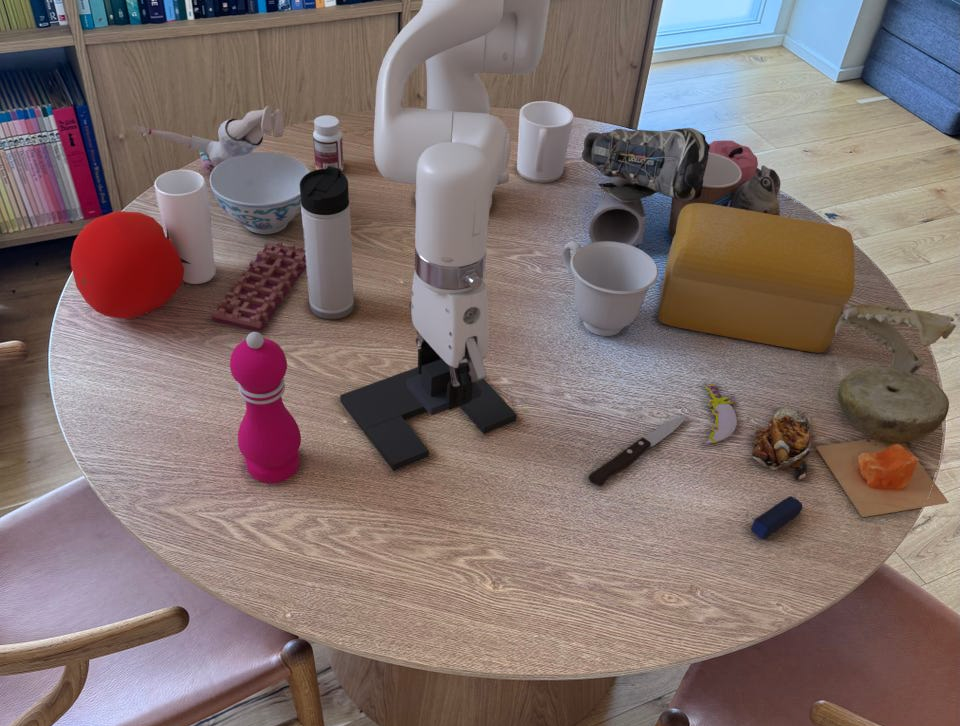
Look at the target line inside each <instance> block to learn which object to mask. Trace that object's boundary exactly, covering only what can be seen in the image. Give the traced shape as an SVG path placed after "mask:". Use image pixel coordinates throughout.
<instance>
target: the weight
mask: <svg viewBox="0 0 960 726" xmlns="http://www.w3.org/2000/svg"><path fill="white" fill-rule="evenodd" d="M837 401H838V404H839V408H840V409H841V412H842V414H843V416H844V418H845V419H846V420H847V422H848V423H849V424H850V425H851V426H852V427H853V428H855V429H856V430H858V431H860V432H861V433H864V434H865V435H868V436H869V437H871V438H872V439H873V438H875V439H878V440H882V441H887V442H895V443H905V444H906V443H911V442H915V441H918V440H920V439H923V438H926V437H927V436H928V435H929V436H930V434H932V433H934V432H935V431H936V430H937V429H938V428H939V427H940V426H941V425H942V424H943V422H944V421H945V419H946V418H947V416H948V413H949V408H950V401H949V397H948V396H947V394H946V393H945V392H944V390H943V389H942V388H941V387H940V386H939V385H938V383H936V382H935V381H933V380H932V379H930V378H927V377H923V376H920V375H917V374H915V373H914V374H912V373H910V372H907V371H904V370H901V369H897V368H893V367H891V366H887V365H880V366H870V367H861V368H859V369H857V370H854V371H852V372H850V373H848V374H847V375H846V376H845V377H843V379H842V380H841V381H840V383H839V384H838V388H837Z"/></svg>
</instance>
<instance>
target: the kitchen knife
mask: <svg viewBox="0 0 960 726" xmlns="http://www.w3.org/2000/svg"><path fill="white" fill-rule="evenodd" d="M685 419H686V414H685V415H681V416H678V417H676V418H673V419H671V420H668V421H666V422H664V423H662V424H661V425H659V426H658V427H657V428H655V430H653V431H652V432H650V433H648V434H647V435H646V436H645V437H641V438H639V439H638V440H637V441H635V442H633V444H631V445H630V446H628V447H627V448H626V449H624V450H622V452H620V453H618V454H617V455H616V456H614V457H613V458H612V459H610V460H609V461H607V462H606V463H604V464H603V465H601V466H600V467H599V468H597V469H596V470H594V471H593V472H591V473H590V474H589V475H588V480H589V481H590V482H591V483H592V484H594V485H596V486H598V487H601V486H603V485H604V484H605V483H606V481H607V480H608V479H609V478H611V477H612V476H614V475H616V474H618V473H620V472H621V471H623V470H625V469H627V468H628V467H629V466H631V465H632V464H633V463H635V462H636V460H638V459H639V458H640V457H641V456H642V455H643V454H644V453H645V452H646V451H647V450H648V449H649V448H650V447H651V448H653V447H654V446H656V445H657V444H658V443H660V442H661V441H663V439H665V438H667V436H669V435H670V434H672V433H673V432H674V431H675V430H676V429H677V428H679V427H680V425H681V424H682V423H683V422H684V420H685Z"/></svg>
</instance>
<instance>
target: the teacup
mask: <svg viewBox="0 0 960 726" xmlns="http://www.w3.org/2000/svg"><path fill="white" fill-rule="evenodd" d="M571 250H572V251H573V254H572V255H571ZM561 259H562V263H563V265H564V266H565V269H566V270H567V271H568V273H569V274H570V275H571V276H572V277H573V278H574V290H573V291H574V295H573V296H574V297H573V299H574V306H575V310H576V313H577V315H578V316H579V318H580V319H581V320H582V323H583V326H584V327H585V329H586V330H587V331H588V332H590V333H591V334H594V335H596V336H599V337H600V336H601V337H612V336H615V335H618V334H619V333H621V331H622V330H623V329H624V328H625V327H628V326H629V325H630V324H631V323H632V322H633V321H634V320H635V319H636V318H637V316H638V314H639V313H640V310H641V308H642V306H643V303H644V300H645V298H646V295H647V292H648V290H649V288H650V287H652V286H653V285H654V284H655V283H656V282H657V280H658V277H659V268H658V266H657V264H656V263H655V261H654V259H652V257H651V256H650V255H648V254H647V253H646V252H645V251H644V250H642V249H640V248H638V247H636V246H634V247H633V246H631V245H627V244H624V243H619V242H608V241H604V242H595V243H593V242H592V243H589V244H586V245H584V246H582V245H581V244H580V243H579V242H577V241H575V240H571V241H568V242H567V243H566V244H564V246H563V248H562V252H561Z"/></svg>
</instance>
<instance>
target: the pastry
mask: <svg viewBox="0 0 960 726" xmlns="http://www.w3.org/2000/svg"><path fill="white" fill-rule="evenodd" d="M811 425H812V420H811V419H810V418H809V417H807V418H805V414H804V413H802V412H800V411H798V410H796V409H794V408H790V407H786V408H781V409H779V410H776V411H775V413H774V415H773V417H772V418H771V419H770V421H768V423H767V426H766V427H765V428H760V429H757V430H755V438H754V441H753V445H756V447H755V448H754V450H753V451H752V453H751V456H752V458H753V459H754V460H756V461H757V462H758V464H759V465H761V466H763V467H767V468H769V469H770V470H772V471H775V470H778V469H781V468H797V467H798V472H796V474H795V479H796V480H798V481H803V480H804V479H805V478H806V476H807V474H806V473H807V472H808V466H807V463H806V462H805V460H806V458H807V457H808V456H809V455H810V453H811V452H810V451H811V448H812V436H811V434H810V428H811Z"/></svg>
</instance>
